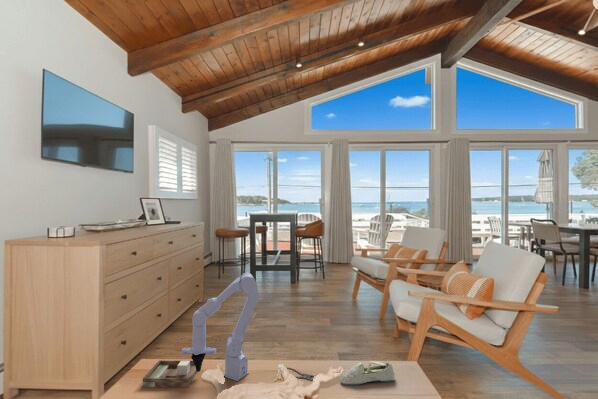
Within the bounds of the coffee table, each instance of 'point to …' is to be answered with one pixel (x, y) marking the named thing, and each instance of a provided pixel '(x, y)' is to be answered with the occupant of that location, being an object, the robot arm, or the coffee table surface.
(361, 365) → the ballet flat
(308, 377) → the pliers
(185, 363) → the cream block
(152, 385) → the wooden tray
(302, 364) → the coffee table surface
